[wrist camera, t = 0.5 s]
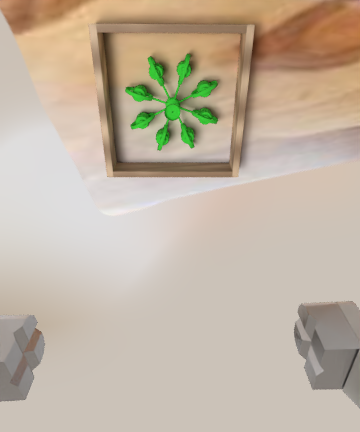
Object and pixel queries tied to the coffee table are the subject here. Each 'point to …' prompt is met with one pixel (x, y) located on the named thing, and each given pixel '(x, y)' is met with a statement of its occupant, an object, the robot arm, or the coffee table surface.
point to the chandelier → (172, 103)
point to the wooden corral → (105, 106)
